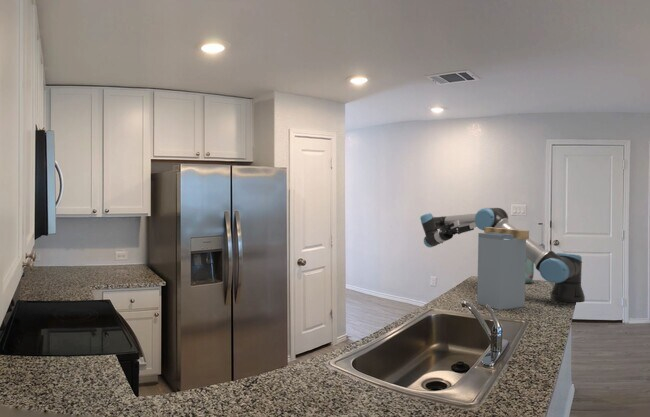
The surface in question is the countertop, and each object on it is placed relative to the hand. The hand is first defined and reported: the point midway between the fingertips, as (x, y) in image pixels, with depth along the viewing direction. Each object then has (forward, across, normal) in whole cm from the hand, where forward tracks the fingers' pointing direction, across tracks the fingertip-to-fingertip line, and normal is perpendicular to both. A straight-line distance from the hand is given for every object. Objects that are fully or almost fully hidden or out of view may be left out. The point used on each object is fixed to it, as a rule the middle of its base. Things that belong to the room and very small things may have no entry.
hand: (468, 222), depth 253 cm
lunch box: (-25, -46, -28) cm, 59 cm away
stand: (+14, +6, -46) cm, 48 cm away
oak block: (+24, +3, -16) cm, 29 cm away
